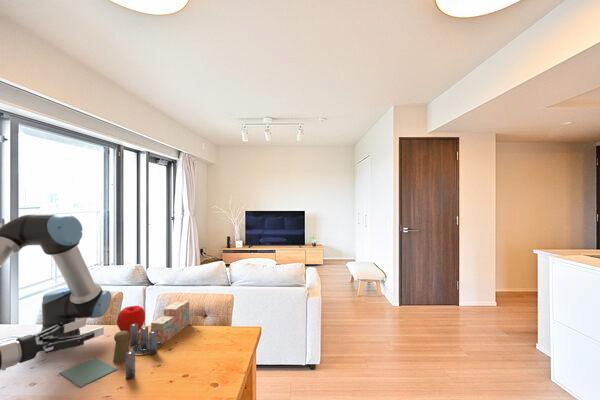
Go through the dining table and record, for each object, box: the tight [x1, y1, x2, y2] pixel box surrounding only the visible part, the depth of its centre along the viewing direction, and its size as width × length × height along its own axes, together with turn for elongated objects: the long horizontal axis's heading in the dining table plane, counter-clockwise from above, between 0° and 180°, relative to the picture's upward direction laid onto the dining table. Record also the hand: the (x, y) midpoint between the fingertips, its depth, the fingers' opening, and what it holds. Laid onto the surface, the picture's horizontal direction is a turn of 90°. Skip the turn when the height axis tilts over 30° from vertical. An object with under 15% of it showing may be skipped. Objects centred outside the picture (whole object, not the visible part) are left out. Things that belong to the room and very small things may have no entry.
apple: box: [116, 305, 146, 337], centre depth 139 cm, size 12×12×13 cm
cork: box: [112, 330, 130, 364], centre depth 118 cm, size 6×6×11 cm
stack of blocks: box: [150, 299, 190, 345], centre depth 141 cm, size 21×6×12 cm, turn 170°
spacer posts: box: [125, 323, 158, 381], centre depth 118 cm, size 25×18×9 cm
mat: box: [59, 356, 118, 388], centre depth 109 cm, size 16×12×1 cm
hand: (93, 326), depth 108 cm, fingers open, 13 cm apart
